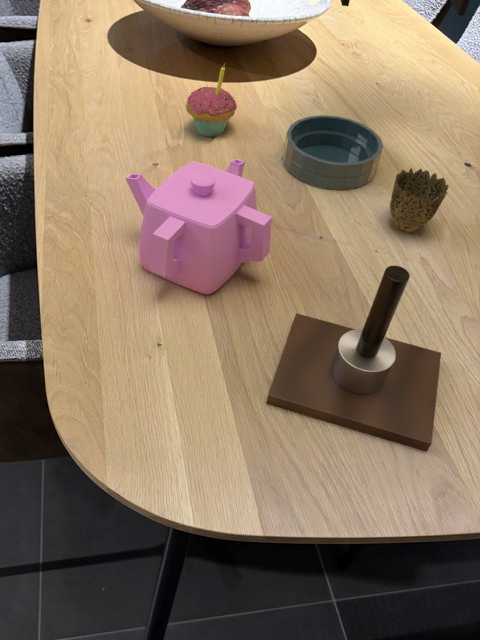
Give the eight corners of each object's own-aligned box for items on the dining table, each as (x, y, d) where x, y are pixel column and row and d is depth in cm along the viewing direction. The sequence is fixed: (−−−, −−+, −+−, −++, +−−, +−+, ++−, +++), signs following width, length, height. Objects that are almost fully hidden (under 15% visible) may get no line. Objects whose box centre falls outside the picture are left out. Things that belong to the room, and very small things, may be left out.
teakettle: (153, 306, 77) (153, 226, 68) (125, 227, 87) (121, 148, 78) (277, 286, 81) (293, 207, 71) (235, 212, 91) (245, 135, 82)
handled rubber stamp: (389, 361, 71) (433, 261, 60) (381, 401, 67) (427, 303, 56) (335, 346, 72) (369, 245, 61) (325, 384, 68) (359, 285, 57)
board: (436, 360, 74) (441, 352, 73) (426, 451, 65) (431, 443, 64) (294, 321, 77) (296, 312, 76) (266, 403, 68) (268, 395, 67)
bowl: (380, 154, 104) (388, 127, 100) (366, 202, 95) (375, 173, 91) (293, 135, 107) (298, 107, 103) (272, 180, 97) (276, 151, 94)
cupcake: (242, 129, 107) (250, 59, 98) (216, 148, 103) (222, 76, 93) (202, 113, 110) (206, 44, 101) (175, 131, 105) (177, 60, 96)
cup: (384, 209, 94) (400, 162, 88) (432, 221, 92) (451, 175, 86) (375, 236, 89) (391, 188, 83) (425, 249, 88) (445, 202, 82)
